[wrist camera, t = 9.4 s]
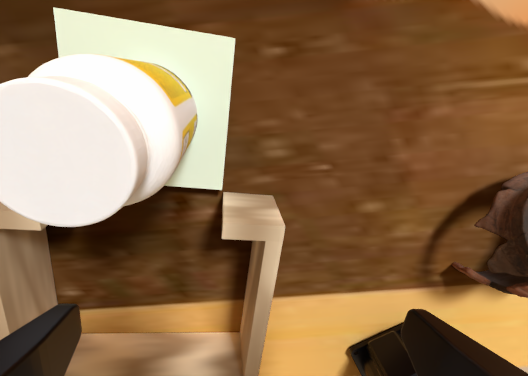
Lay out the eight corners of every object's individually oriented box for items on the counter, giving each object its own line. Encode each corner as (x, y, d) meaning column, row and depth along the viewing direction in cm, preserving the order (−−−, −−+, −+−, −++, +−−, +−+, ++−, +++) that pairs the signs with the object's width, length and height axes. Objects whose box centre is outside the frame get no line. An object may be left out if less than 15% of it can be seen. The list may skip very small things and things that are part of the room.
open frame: (272, 195, 20) (285, 226, 16) (250, 340, 25) (255, 393, 21) (19, 176, 17) (-46, 208, 13) (49, 343, 22) (9, 404, 18)
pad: (234, 40, 16) (235, 38, 15) (222, 185, 19) (222, 190, 18) (61, 10, 14) (53, 7, 14) (78, 174, 18) (72, 178, 17)
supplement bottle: (84, 70, 15) (-132, 58, 6) (186, 55, 15) (129, 23, 6) (118, 165, 17) (-2, 265, 8) (207, 150, 17) (188, 229, 8)
